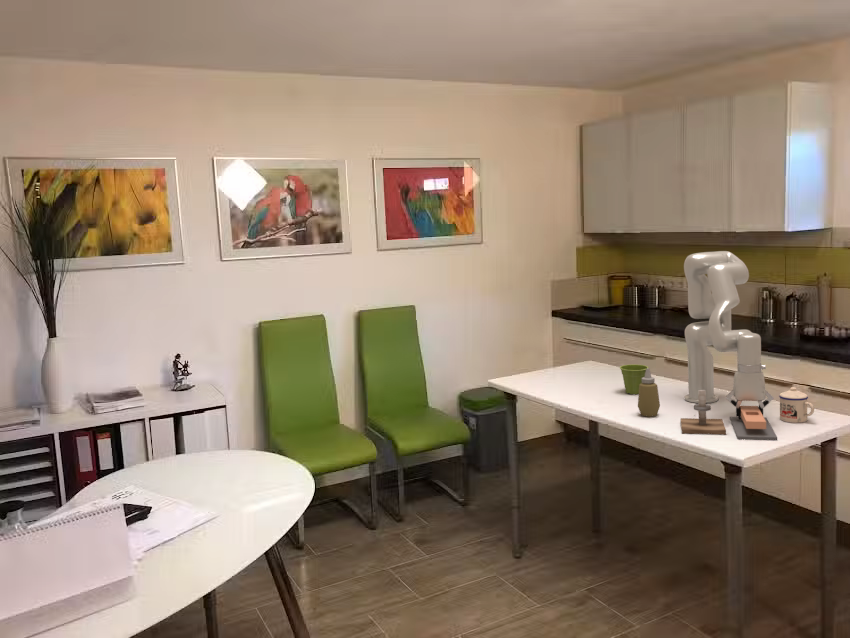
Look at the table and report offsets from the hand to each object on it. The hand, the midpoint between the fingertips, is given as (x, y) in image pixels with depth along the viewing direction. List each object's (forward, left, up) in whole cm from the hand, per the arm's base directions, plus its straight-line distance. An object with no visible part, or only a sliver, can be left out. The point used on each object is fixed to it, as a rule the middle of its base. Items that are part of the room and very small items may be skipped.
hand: (749, 417), depth 251 cm
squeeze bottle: (-9, -34, -2) cm, 35 cm away
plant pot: (-44, -40, -2) cm, 59 cm away
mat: (+7, 0, -2) cm, 7 cm away
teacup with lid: (-5, +16, -2) cm, 17 cm away
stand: (+7, -16, -2) cm, 18 cm away
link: (+7, 0, +1) cm, 7 cm away
